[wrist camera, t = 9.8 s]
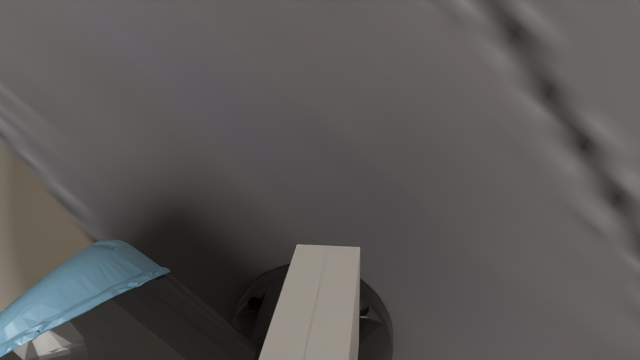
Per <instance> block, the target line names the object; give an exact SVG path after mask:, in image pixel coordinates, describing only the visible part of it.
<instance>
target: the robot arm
mask: <svg viewBox="0 0 640 360" xmlns="http://www.w3.org/2000/svg"><path fill="white" fill-rule="evenodd" d="M170 273H171V271H170V270H169V269H168V268H166V267H161V266H159V265H158V264H156V263H155V262H154V261H152V260H151V259H149V258H148V257H147V256H145V255H144V254H142V253H141V252H140V251H138V250H137V249H135V248H134V247H133V246H131V245H130V244H128V243H126V242H124V241H121V240H116V239H108V240H102V241H99V242H96V243H93V244H91V245H89V246H88V247H86V248H84V249H83V250H81V251H80V252H78V253H76V254H75V255H74V256H72V257H70V258H69V259H68V260H66V261H65V262H63V263H62V264H61V265H59V266H58V267H57V268H55V269H54V270H53V271H51V272H50V273H49V274H47V275H46V276H45V277H43V278H42V279H41V280H39V281H38V282H37V283H36V284H35V285H33V286H32V287H31V288H29V289H28V290H27V291H26V292H24V293H23V294H22V295H21V296H20V297H18V298H17V299H16V300H15V301H14V302H12V303H11V304H10V305H9V306H8V307H6V308H5V309H4V310H3V311H2V312H1V313H0V360H392V353H393V332H392V325H391V321H390V317H389V315H388V312H387V310H386V308H385V306H384V304H383V303H382V301H381V300H380V298H379V297H378V296H377V295H376V294H375V292H374V291H373V290H372V289H371V288H370V287H369V286H367V285H366V284H365V283H364V282H362V281H361V280H360V247H346V246H323V245H300V244H297V246H296V249H295V252H294V255H293V258H292V261H291V264H290V265H287V266H283V267H280V268H277V269H274V270H272V271H270V272H268V273H266V274H264V275H263V276H261V277H260V278H258V279H257V280H256V281H255V282H253V283H252V284H251V285H250V286H249V287H248V289H247V290H246V291H245V293H244V294H243V296H242V297H241V299H240V301H239V304H238V306H237V308H236V310H235V313H234V315H233V318H232V321H231V323H230V322H228V321H227V320H226V319H225V318H223V317H222V316H221V315H220V314H218V313H217V312H216V311H215V310H214V309H212V308H211V307H210V306H209V305H207V304H206V303H205V302H204V301H202V300H201V299H200V298H199V297H197V296H196V295H195V294H194V293H192V292H191V291H190V290H189V289H188V288H186V287H185V286H184V285H183V284H181V283H180V282H179V281H178V280H177V279H175V278H174V277H173V276H172V275H171V274H170Z"/></svg>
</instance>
